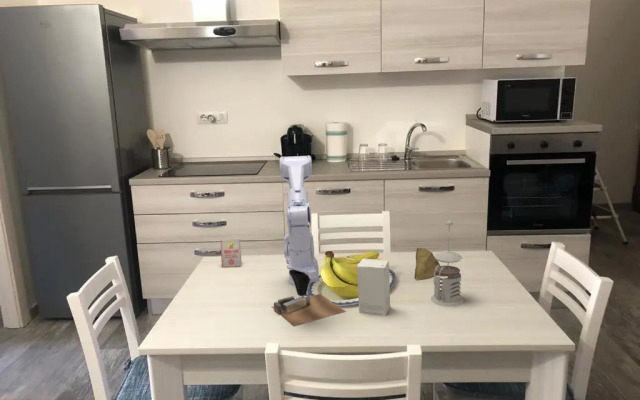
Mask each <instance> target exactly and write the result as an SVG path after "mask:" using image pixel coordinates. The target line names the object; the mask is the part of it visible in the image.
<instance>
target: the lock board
mask: <svg viewBox="0 0 640 400" xmlns="http://www.w3.org/2000/svg"><path fill="white" fill-rule="evenodd" d="M294 299H296V298H295V296H287V297H285V298H280V299H277V301H275V302H273V305H272V306H271V309H273V311H274V312H275V313H276V314H277V315H280V316H281V317H282V319H284V320H285V321H286V322H288V323H289V324H290V325H291V326H292V327H298V326H301V325H304V324H307V323H311V322H315V321H318V320H322V319H325V318H329V317H331V316H332V317H333V316H335V315H339V314H342V313H346V312H347V311H346V310H345V309H343V308H341V306H339V305H337V304H336V303H334V302H333V301H331V300H330V299H329V298H327V297H326V296H324V295H323V294H321V293H318V294H314V295H310V305H309V306H305V307H303V308H300V309H298V310H295V311H293V312H291V313H288V314H287V313H285V312H283V304H284V303H287V302H289V301H292V300H294ZM321 300H322V301H321ZM330 302H333V303H330Z"/></svg>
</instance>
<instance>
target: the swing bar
mask: <svg viewBox="0 0 640 400" xmlns="http://www.w3.org/2000/svg"><path fill="white" fill-rule="evenodd" d="M310 296H311V295H310V294H308V293H306V295H303V296H299V297H297V298H295V299H294V300H292V301H289V302H287V303H284V304H283V312H285V313H287V314H288V313H291V312H293V311H295V310H298V309H300V308H303V307H305V306H309V305H310Z"/></svg>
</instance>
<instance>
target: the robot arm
mask: <svg viewBox="0 0 640 400" xmlns="http://www.w3.org/2000/svg"><path fill="white" fill-rule="evenodd" d="M312 164H313V163H312V157H311V156H310V155H300V156H299V155H297V156H296V155H295V156H282V155H281V156H280V158H279V176H280V178H281V180H282V181H284V182H287V183H288V185H289V189H288V191H287V208H286V225H287V228H288V229H287V231H288V232H287V233H286V234H284V237H283V252H284V253H283V254H284V258H285V259H286V260H285V263H286V264H287V265H286V269H287V270H288V276H289V279H288V281H289V284H291V285H292V286H295V287H294V288H295V291H296V293H297V295H298V296H299V297H302V296H303V295H306V294H308V287H309V284H312V283H317V282H319V281H320V274H319V269H320V267H319V262H318V259H317V257H316V256H315V243H314V235H313V234H312V233H311V226H312V210H311V206H310V203H309V195H308V194H309V193H308V191H307V189H306V188H304V184H305V181H308V180H310V179H311V177H312V174H313V166H312Z"/></svg>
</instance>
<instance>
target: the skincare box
mask: <svg viewBox="0 0 640 400" xmlns="http://www.w3.org/2000/svg"><path fill="white" fill-rule="evenodd" d="M356 269H357V270H356V273H357V274H356V275H357V276H356V277H357V298H358V313H361V314H368V315H375V316H376V315H377V316H387V315H388V313H389V311H390V309H391V290H390V287H391V285H390V261H389V259H376V258H375V259H374V258H373V259H372V258H362V259H361V260H360V261H359V262H358V264H357V266H356Z"/></svg>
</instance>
